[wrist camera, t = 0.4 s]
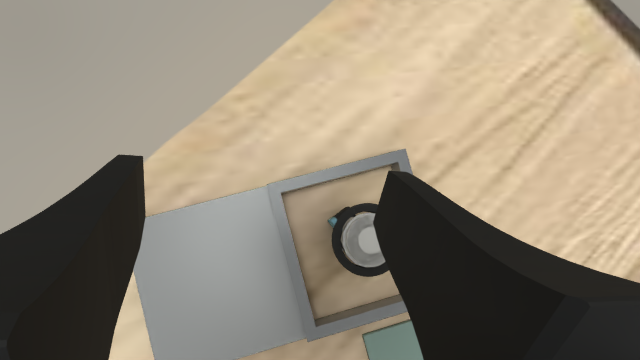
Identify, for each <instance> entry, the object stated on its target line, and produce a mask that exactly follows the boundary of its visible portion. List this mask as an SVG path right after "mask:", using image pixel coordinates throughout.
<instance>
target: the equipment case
mask: <svg viewBox="0 0 640 360" xmlns="http://www.w3.org/2000/svg"><path fill="white" fill-rule="evenodd" d="M390 165H391V167H392V170H393V171H403V172H408V173H410V174H412V175H413V173H412V170H411V166H410V163H409V159H408V156H407V152H406V149H402V150H398V151H394V152H390V153H386V154H382V155H379V156H375V157H371V158H367V159H363V160H359V161H356V162H352V163H348V164H344V165H340V166H336V167H332V168H329V169H325V170H321V171H317V172H313V173H309V174H306V175H302V176H298V177H294V178H290V179H286V180H282V181H279V182H275V183H271V184H267V186H264V187H261V188H257V189H253V190H249V191H245V192H241V193H238V194H234V195H230V196H226V197H222V198H218V199H215V200H211V201H207V202H203V203H199V204H195V205H191V206H188V207H184V208H180V209H176V210H172V211H168V212H165V213H161V214H157V215H153V216H149V217H145V223H144V229H143V235H142V240H141V246H140V250H139V253H138V256H137V259H136V262H135V266H134V269H133V270H134V275H135V279H136V283H137V287H138V292H139V296H140V300H141V304H142V308H143V313H144V317H145V321H146V325H147V330H148V334H149V338H150V342H151V347H152V351H153V355H154V359H155V360H236V359H239V358H242V357H246V356H249V355H252V354H255V353H259V352H262V351H265V350H269V349H272V348H275V347H278V346H282V345H285V344H288V343H292V342H295V341H298V340H301V339H305V338H307V341H308V342H310V341H313V340H316V339H320V338H323V337H326V336H329V335H333V334H336V333H339V332H342V331H346V330H349V329H352V328H356V327H359V326H362V325H365V324H369V323H372V322H375V321H378V320H382V319H385V318H388V317H392V316H395V315H398V314H401V313H405V312H408V311H407V308H406V306H405V304H404V301H403V299H402V297H401V295H396V296H393V297H390V298H386V299H383V300H380V301H376V302H373V303H370V304H366V305H363V306H360V307H356V308H353V309H350V310H346V311H343V312H340V313H336V314H333V315H330V316H326V317H323V318H320V319H316V320H314V318H313V314H312V310H311V307H310V303H309V299H308V295H307V291H306V288H305V284H304V280H303V276H302V272H301V269H300V265H299V261H298V257H297V253H296V250H295V246H294V242H293V238H292V235H291V231H290V227H289V223H288V219H287V216H286V212H285V208H284V204H283V200H282V197H281V194H284V193H288V192H292V191H295V190H299V189H303V188H307V187H310V186H314V185H318V184H322V183H326V182H329V181H333V180H337V179H341V178H345V177H348V176H352V175H356V174H360V173H364V172H367V171H371V170H375V169H379V168H383V167H386V166H390Z"/></svg>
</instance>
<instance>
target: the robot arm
mask: <svg viewBox="0 0 640 360" xmlns="http://www.w3.org/2000/svg"><path fill="white" fill-rule="evenodd" d="M144 223H145V193H144V170H143V156H133V155H117V156H116V157H115V158H114V159H112V160H111V161H110V162H109V163H107V164H106V165H105V166H104V167H102V168H101V169H100V170H99V171H97V172H96V173H95V174H94V175H93V176H91V177H90V178H89V179H88V180H86V181H85V182H84V183H82V184H81V185H80V186H79V187H77V188H76V189H75V190H73V191H72V192H71V193H69V194H68V195H66V196H65V197H63V198H62V199H60V200H59V201H57V202H56V203H54V204H53V205H51V206H50V207H48V208H47V209H45V210H44V211H42V212H40V213H39V214H37V215H35V216H34V217H32V218H30V219H28V220H27V221H25V222H23V223H21V224H19V225H17V226H16V227H14V228H12V229H10V230H8V231H6V232H4V233H2V234H0V360H108V359H109V354H110V349H111V344H112V339H113V334H114V330H115V326H116V323H117V319H118V315H119V312H120V309H121V306H122V303H123V300H124V297H125V294H126V290H127V287H128V284H129V281H130V278H131V275H132V272H133V269H134V266H135V262H136V259H137V256H138V253H139V250H140V246H141V240H142V235H143V229H144ZM373 225H374V229H375V233H376V236H377V240H378V243H379V247H380V250H381V252H382V255H383V257H384V259H385V261H386V264H387V266H388V268H389V270H390V273H391V275H392V277H393V279H394V282H395V284H396V286H397V288H398V290H399V293H400V295H401V297H402V299H403V301H404V304H405V306H406V308H407V311H408V313H409V316H410V318H411V321H412V324H413V327H414V330H415V333H416V337H417V340H418V343H419V346H420V349H421V353H422V356H423V359H424V360H640V283H637V282H634V281H630V280H627V279H623V278H620V277H616V276H613V275H609V274H606V273H602V272H599V271H596V270H593V269H590V268H587V267H584V266H581V265H579V264H576V263H573V262H570V261H567V260H565V259H562V258H560V257H557V256H554V255H552V254H550V253H547V252H545V251H543V250H540V249H538V248H536V247H533V246H531V245H529V244H527V243H525V242H522V241H520V240H518V239H516V238H514V237H512V236H510V235H508V234H507V233H505V232H503V231H501V230H499V229H497V228H495V227H493V226H492V225H490V224H488V223H486V222H485V221H483V220H481V219H480V218H478V217H476V216H475V215H473V214H471V213H470V212H468V211H467V210H465V209H464V208H462V207H461V206H459V205H457V204H456V203H454V202H453V201H451V200H450V199H449V198H447V197H446V196H444V195H443V194H441V193H440V192H438V191H437V190H435V189H434V188H432V187H431V186H429V185H428V184H426V183H425V182H423V181H422V180H420V179H419V178H417V177H415V176H414V175H412V174H410V173H408V172H403V171H388V175H387V178H386V181H385V185H384V188H383V191H382V194H381V198H380V201H379V204H378V207H377V211H376V214H375V217H374V221H373Z"/></svg>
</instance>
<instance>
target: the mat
mask: <svg viewBox="0 0 640 360" xmlns="http://www.w3.org/2000/svg"><path fill="white" fill-rule="evenodd" d="M362 335H363V339H364V342H365V346H366V350H367V353H368V357H369V360H424V359H423V356H422V353H421V349H420V346H419V343H418V340H417V337H416V333H415V330H414V327H413V324H412V321H411V320H407V321H404V322H401V323H398V324H394V325H391V326H388V327H385V328H382V329H378V330H375V331H372V332H369V333H365V334H362Z"/></svg>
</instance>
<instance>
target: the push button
mask: <svg viewBox="0 0 640 360" xmlns="http://www.w3.org/2000/svg"><path fill="white" fill-rule="evenodd" d="M377 207H378V205H377V204H372V203H364V204H358V205H355V206H353V207H351V208H350V207H346V208H344V209H343V210H341V211H340V212H339V213H337V214H336V215H334V216H333V217H332V218H330V219H329V220H328V222H329V223H330V225H331V226H332V227H333V228H334V229H333V233H332V246H333V250H334V253H335V256H336V257H337V259H338V261H339V262H340V263H341V264H342V265H343V266H344V267H345V268H346V269H347V270H349V271H350V272H352V273H354V274H356V275H360V276H366V277H371V276H377V275H380V274H383V273H385V272H387V271H388V270H389V268H388V266H387V264H386V261H385V259H384V257H383V255H382V252H381V250H380V247H379V243H378V240H377V236H376V233H375V229H374V225H373V221H374V217H375V214H376V211H377ZM360 212H371V213H363V214H360V215H357V216H356V215H355V214H357V213H360ZM343 250H344V251H345V252H346V254H347V256H348V257H349V258H350V259H351V260H352V261H353V262H354V263H356V264H358V265H355V264H353V263H351V262H350V261H349V260H348V259H347V258H346V256H345V255H344V253H343ZM359 265H360V266H359Z"/></svg>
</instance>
